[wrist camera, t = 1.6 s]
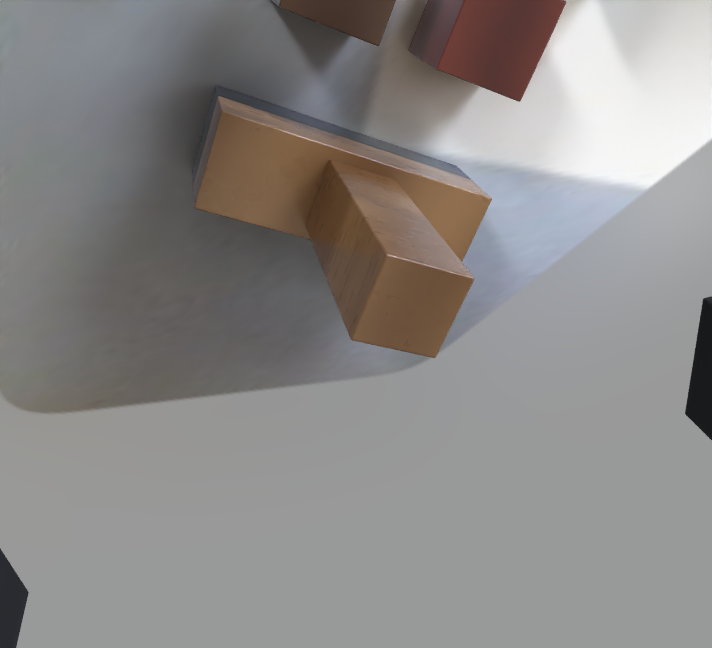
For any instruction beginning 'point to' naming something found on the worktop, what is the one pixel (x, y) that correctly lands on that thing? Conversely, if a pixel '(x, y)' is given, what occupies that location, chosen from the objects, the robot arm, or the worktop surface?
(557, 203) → the worktop surface
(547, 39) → the mahogany block
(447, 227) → the wooden t-shaped block
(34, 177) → the worktop surface
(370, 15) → the walnut block
